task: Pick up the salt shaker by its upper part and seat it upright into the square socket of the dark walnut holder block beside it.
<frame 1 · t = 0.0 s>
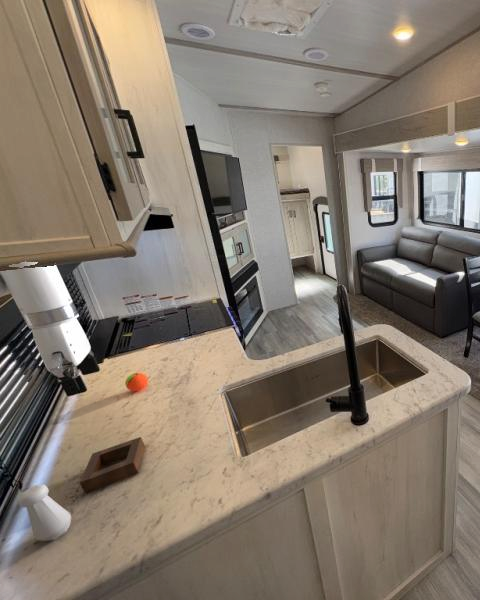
hand: (85, 382, 71), 31 cm above the worktop, tool pointing down, fingers open, 9 cm apart
salt shaker: (57, 532, 70), on the worktop
holder: (117, 468, 86), on the worktop
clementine: (139, 390, 122), on the worktop
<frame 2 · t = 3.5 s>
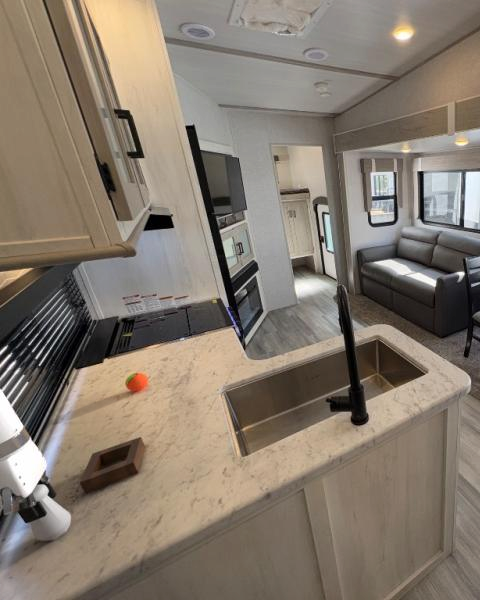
hand: (41, 508, 68), 8 cm above the worktop, tool pointing down, fingers closed on salt shaker, 4 cm apart
salt shaker: (57, 532, 70), on the worktop, touching gripper
everything else where it was.
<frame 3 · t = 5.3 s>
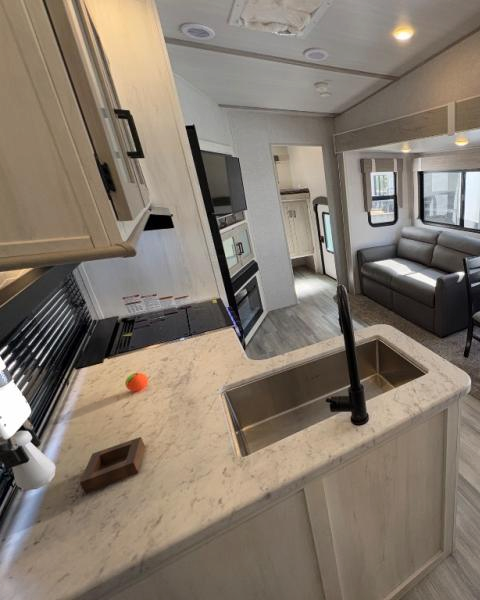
hand: (24, 455, 65), 21 cm above the worktop, tool pointing down, fingers closed on salt shaker, 4 cm apart
salt shaker: (41, 482, 68), point 13 cm above the worktop, touching gripper
everything else where it was.
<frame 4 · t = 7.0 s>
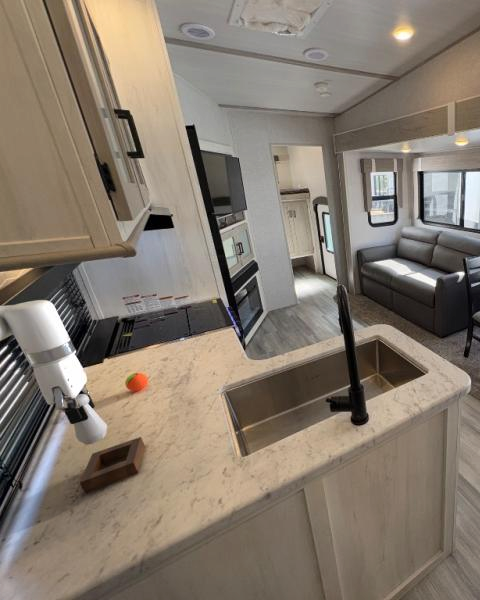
hand: (83, 414, 78), 20 cm above the worktop, tool pointing down, fingers closed on salt shaker, 4 cm apart
salt shaker: (95, 439, 81), point 12 cm above the worktop, touching gripper
everything else where it was.
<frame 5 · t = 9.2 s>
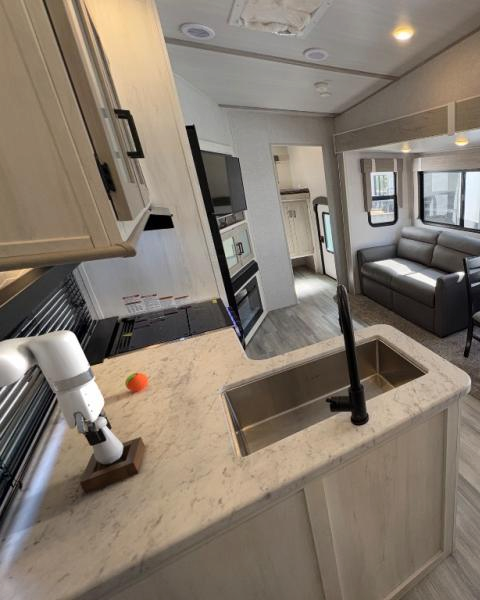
hand: (101, 436, 82), 12 cm above the worktop, tool pointing down, fingers closed on salt shaker, 4 cm apart
salt shaker: (112, 458, 85), point 4 cm above the worktop, touching gripper
everything else where it was.
when the fingers open (8 cm above the worktop, at t = 10.6 s): salt shaker stays where it is, resting in holder.
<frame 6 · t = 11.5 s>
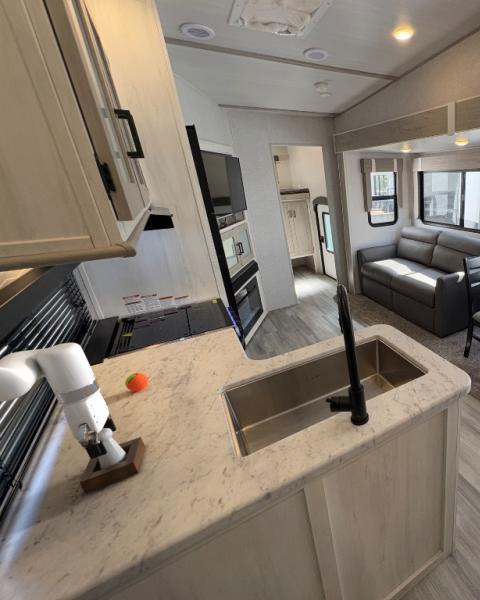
hand: (104, 443, 83), 9 cm above the worktop, tool pointing down, fingers open, 9 cm apart
salt shaker: (118, 469, 86), resting in holder
everything else where it was.
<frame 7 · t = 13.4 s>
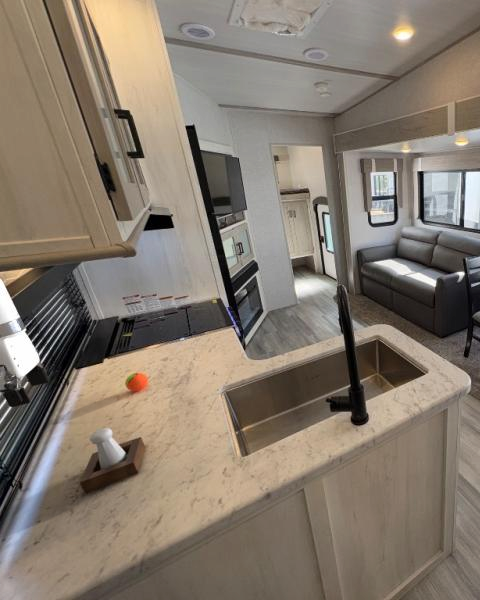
hand: (31, 393, 75), 28 cm above the worktop, tool pointing down, fingers open, 9 cm apart
nothing on the worktop moved.
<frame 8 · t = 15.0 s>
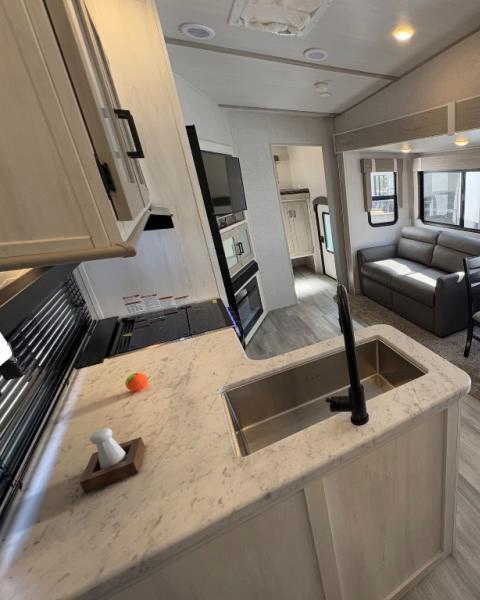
hand: (4, 387, 73), 30 cm above the worktop, tool pointing down, fingers open, 9 cm apart
nothing on the worktop moved.
at the end: salt shaker 0.0 cm off-centre in the holder, point 0.0 cm above the holder's base; salt shaker tilted 0°; the gripper is holding nothing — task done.
